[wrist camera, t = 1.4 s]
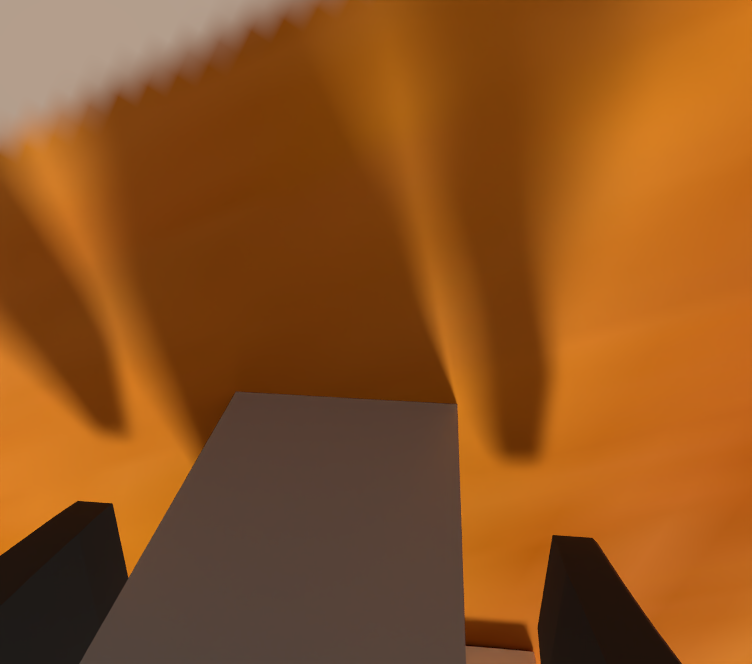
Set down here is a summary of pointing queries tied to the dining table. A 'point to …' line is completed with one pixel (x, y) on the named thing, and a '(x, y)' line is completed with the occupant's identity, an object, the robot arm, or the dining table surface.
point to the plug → (304, 542)
